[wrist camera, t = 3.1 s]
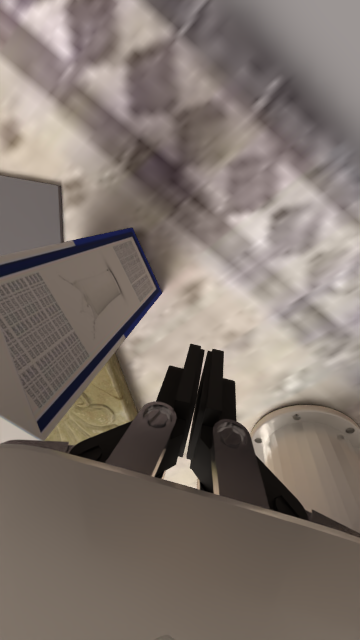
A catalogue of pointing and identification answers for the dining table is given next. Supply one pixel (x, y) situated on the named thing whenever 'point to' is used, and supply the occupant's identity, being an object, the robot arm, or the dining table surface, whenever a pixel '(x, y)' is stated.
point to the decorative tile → (97, 407)
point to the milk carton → (65, 323)
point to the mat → (29, 215)
